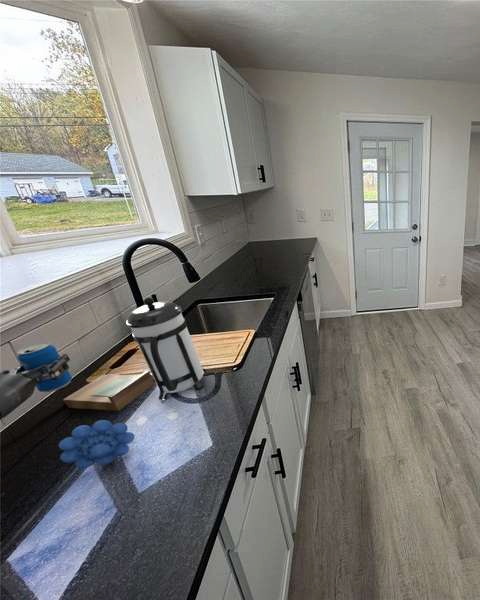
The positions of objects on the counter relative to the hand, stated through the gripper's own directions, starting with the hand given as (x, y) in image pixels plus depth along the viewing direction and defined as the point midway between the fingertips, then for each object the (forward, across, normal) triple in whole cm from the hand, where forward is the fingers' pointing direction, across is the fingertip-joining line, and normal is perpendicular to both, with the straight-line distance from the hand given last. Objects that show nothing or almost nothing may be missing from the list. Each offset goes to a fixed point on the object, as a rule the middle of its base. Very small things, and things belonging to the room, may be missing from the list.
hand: (50, 359), depth 83 cm
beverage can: (-2, 0, +7) cm, 8 cm away
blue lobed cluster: (-26, -19, +18) cm, 37 cm away
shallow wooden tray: (+5, -6, +18) cm, 19 cm away
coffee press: (0, -27, +18) cm, 32 cm away
